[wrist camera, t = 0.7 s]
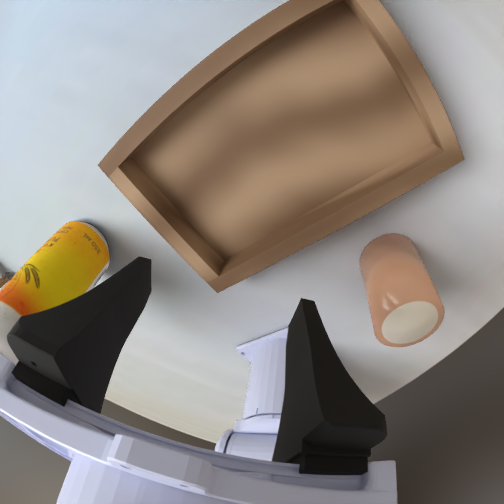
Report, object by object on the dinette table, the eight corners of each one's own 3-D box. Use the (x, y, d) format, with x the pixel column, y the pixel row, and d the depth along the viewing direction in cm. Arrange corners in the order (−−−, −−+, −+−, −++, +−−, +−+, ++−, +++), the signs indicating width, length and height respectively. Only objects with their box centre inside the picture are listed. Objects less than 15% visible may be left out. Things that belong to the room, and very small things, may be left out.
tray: (444, 146, 17) (464, 159, 14) (225, 269, 25) (217, 293, 23) (344, -18, 12) (352, -32, 9) (118, 151, 20) (97, 165, 18)
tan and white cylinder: (423, 267, 23) (450, 328, 17) (373, 291, 25) (387, 356, 19) (404, 223, 21) (436, 283, 15) (349, 252, 23) (362, 318, 17)
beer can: (72, 204, 24) (-38, 318, 11) (122, 242, 25) (28, 377, 13) (59, 245, 27) (-26, 350, 15) (103, 278, 28) (29, 397, 16)
